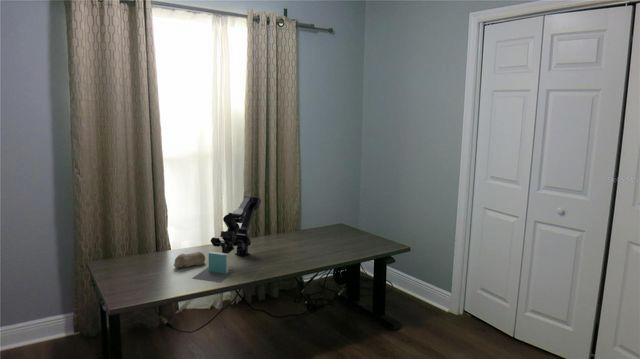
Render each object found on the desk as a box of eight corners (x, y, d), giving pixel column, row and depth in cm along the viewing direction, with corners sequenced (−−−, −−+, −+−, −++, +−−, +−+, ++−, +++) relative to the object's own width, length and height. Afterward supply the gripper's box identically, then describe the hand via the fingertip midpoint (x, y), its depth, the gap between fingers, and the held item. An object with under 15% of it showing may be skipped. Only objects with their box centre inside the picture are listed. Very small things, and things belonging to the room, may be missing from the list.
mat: (208, 267, 243) (208, 266, 243) (235, 271, 240) (235, 270, 239) (191, 279, 226) (191, 278, 226) (220, 283, 222) (220, 282, 222)
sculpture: (170, 260, 243) (174, 250, 237) (199, 254, 254) (204, 244, 248) (175, 274, 239) (179, 264, 233) (204, 267, 251) (210, 258, 244)
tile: (211, 269, 240) (211, 251, 238) (228, 271, 237) (228, 253, 236) (208, 271, 237) (208, 253, 235) (225, 273, 234) (226, 255, 233)
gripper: (212, 223, 246) (202, 248, 237) (243, 226, 242) (234, 252, 233) (218, 233, 255) (209, 257, 246) (248, 236, 251) (240, 261, 242)
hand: (223, 257), depth 241 cm, fingers closed
